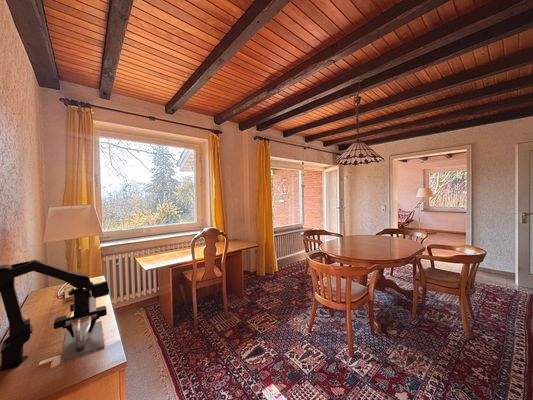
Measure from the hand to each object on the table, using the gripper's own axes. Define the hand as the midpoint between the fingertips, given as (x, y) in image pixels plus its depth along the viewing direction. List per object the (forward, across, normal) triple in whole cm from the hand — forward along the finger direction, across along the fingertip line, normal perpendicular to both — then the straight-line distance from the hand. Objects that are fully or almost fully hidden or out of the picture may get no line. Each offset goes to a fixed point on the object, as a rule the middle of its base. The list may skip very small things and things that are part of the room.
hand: (82, 334), depth 105 cm
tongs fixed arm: (+2, +1, 0) cm, 2 cm away
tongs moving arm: (+1, -2, -1) cm, 3 cm away
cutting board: (+3, -1, 0) cm, 3 cm away
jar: (+3, -2, -32) cm, 32 cm away
